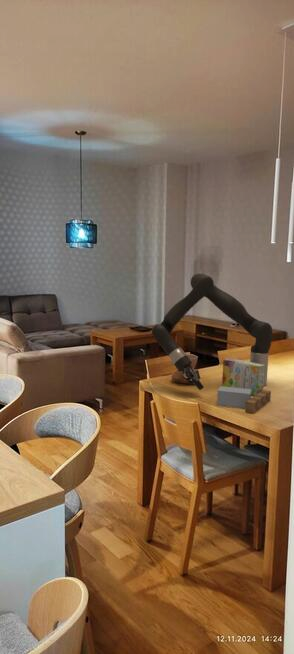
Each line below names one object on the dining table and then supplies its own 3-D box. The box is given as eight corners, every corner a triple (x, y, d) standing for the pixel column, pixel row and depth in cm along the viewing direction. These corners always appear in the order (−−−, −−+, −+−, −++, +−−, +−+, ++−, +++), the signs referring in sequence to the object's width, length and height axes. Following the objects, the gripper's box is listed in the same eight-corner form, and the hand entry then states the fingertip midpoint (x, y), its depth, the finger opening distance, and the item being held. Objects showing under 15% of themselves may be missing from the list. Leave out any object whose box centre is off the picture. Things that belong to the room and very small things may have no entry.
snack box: (263, 395, 230) (265, 364, 228) (256, 397, 226) (259, 366, 224) (227, 385, 245) (229, 357, 243) (220, 387, 241) (222, 358, 239)
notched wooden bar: (262, 399, 223) (263, 389, 222) (270, 400, 221) (270, 391, 220) (245, 412, 202) (245, 402, 202) (252, 413, 201) (253, 403, 200)
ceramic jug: (175, 377, 259) (176, 351, 257) (202, 379, 255) (202, 353, 252) (167, 386, 242) (167, 358, 240) (195, 388, 238) (196, 361, 236)
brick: (219, 400, 218) (220, 386, 217) (250, 404, 215) (251, 389, 214) (216, 405, 211) (217, 390, 210) (249, 409, 207) (250, 393, 206)
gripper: (178, 356, 219) (201, 387, 214) (191, 352, 230) (213, 381, 226) (168, 366, 222) (190, 396, 218) (180, 361, 233) (202, 390, 229)
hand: (201, 388), depth 222 cm, fingers closed
